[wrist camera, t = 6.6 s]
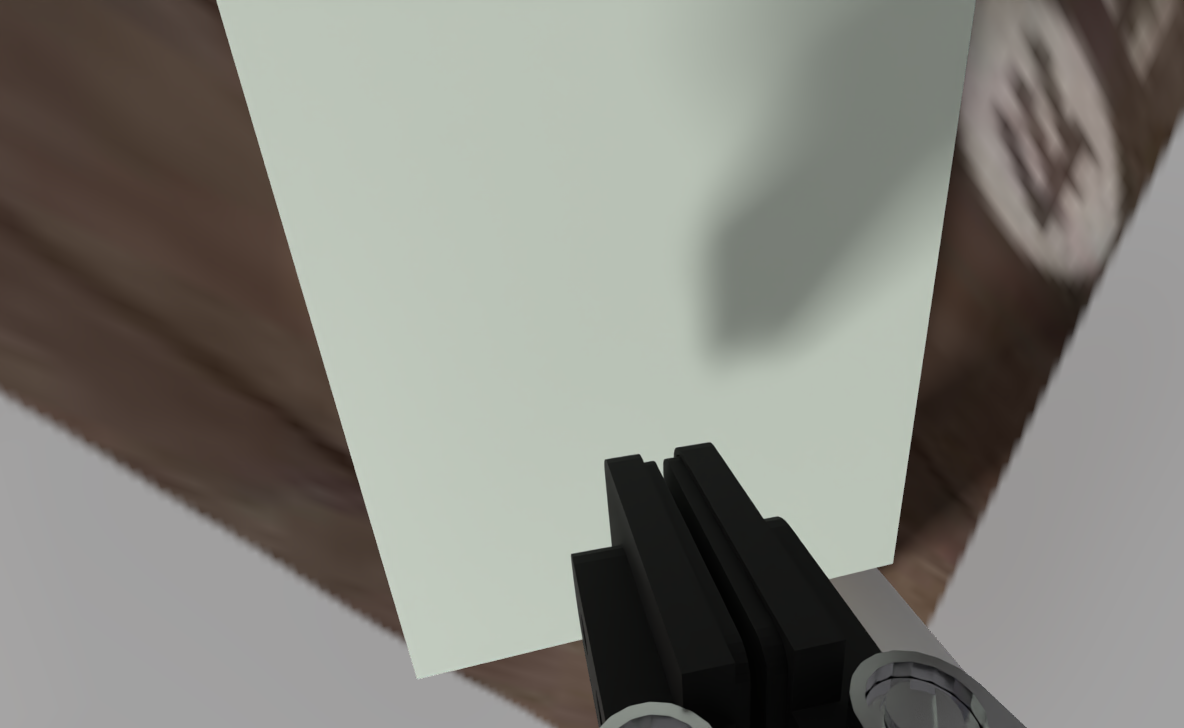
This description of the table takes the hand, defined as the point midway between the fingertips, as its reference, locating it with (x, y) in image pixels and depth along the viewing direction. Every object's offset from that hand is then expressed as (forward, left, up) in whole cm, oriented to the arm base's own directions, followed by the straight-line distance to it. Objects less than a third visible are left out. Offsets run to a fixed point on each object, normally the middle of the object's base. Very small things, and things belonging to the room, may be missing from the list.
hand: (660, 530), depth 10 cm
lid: (-3, +1, -4) cm, 6 cm away
